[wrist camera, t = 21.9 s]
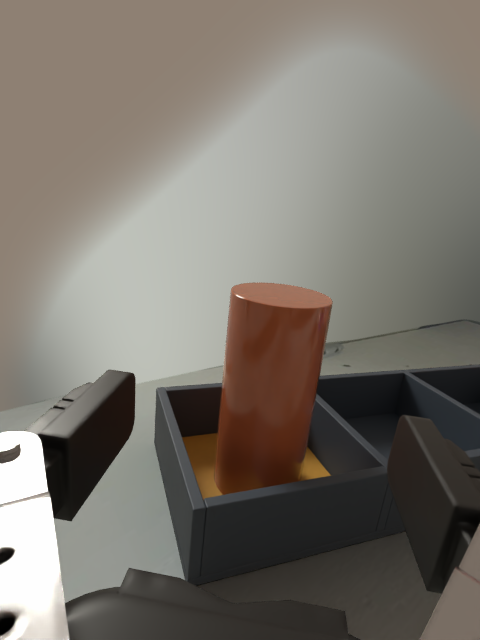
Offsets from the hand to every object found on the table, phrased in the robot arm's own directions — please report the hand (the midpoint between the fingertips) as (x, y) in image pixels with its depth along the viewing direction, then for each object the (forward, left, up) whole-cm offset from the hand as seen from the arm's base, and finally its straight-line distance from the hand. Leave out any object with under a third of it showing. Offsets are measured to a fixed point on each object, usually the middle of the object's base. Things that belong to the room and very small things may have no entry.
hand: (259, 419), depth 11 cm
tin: (+5, +9, -10) cm, 14 cm away
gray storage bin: (+15, +9, -11) cm, 21 cm away
